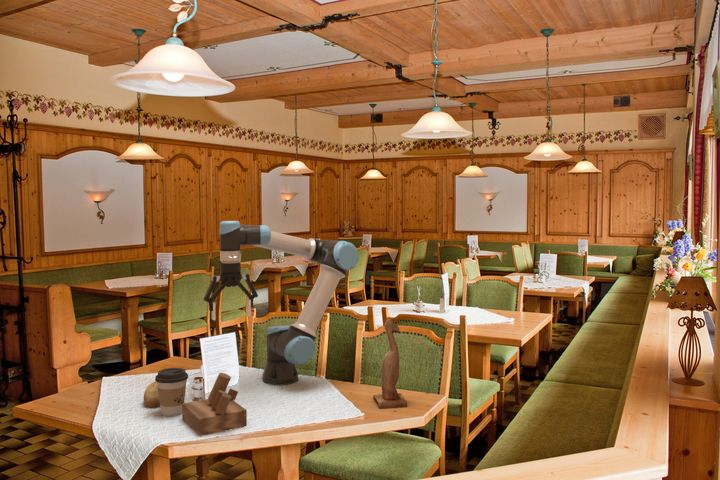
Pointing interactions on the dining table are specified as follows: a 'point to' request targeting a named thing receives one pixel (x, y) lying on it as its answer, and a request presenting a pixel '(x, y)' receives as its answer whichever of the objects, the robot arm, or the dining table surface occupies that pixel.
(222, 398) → the wooden block set
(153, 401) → the bread roll
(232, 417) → the walnut base block
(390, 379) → the bird sculpture
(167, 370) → the coffee cup
